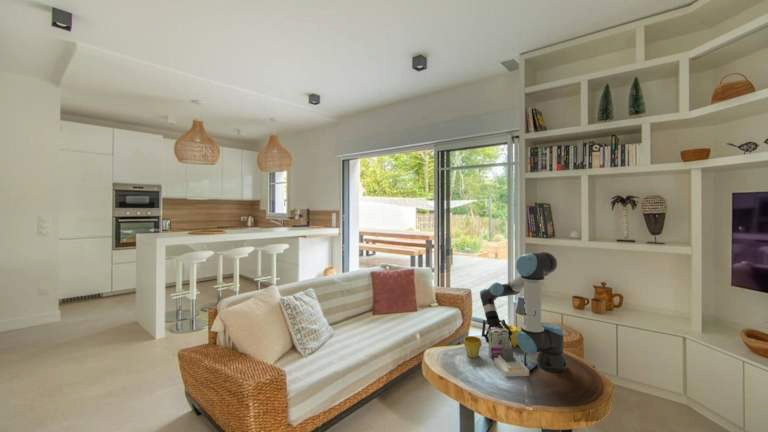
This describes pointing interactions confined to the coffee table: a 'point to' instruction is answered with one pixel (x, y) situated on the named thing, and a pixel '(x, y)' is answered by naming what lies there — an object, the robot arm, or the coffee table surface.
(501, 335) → the candy bar box
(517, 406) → the coffee table surface
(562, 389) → the coffee table surface
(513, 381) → the coffee table surface
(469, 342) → the plant pot
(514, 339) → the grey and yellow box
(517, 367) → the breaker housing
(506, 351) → the block
